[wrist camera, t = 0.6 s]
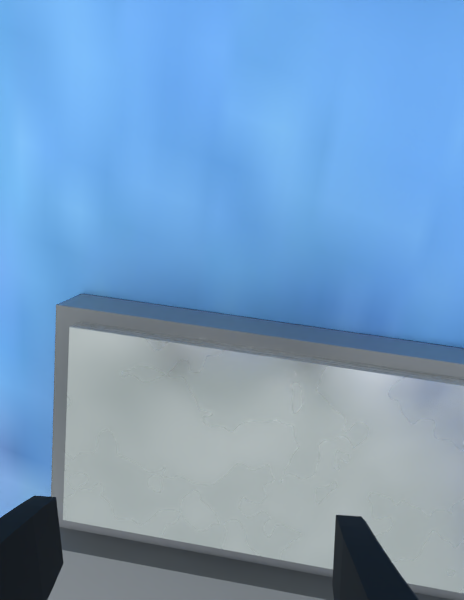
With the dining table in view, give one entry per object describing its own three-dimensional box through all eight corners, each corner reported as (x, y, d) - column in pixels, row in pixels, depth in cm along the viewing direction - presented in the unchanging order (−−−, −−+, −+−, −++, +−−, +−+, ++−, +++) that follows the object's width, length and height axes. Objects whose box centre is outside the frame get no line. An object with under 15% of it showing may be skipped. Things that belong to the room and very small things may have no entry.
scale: (439, 614, 22) (471, 692, 18) (71, 545, 23) (35, 605, 19) (514, 355, 18) (571, 390, 15) (82, 293, 20) (40, 311, 16)
